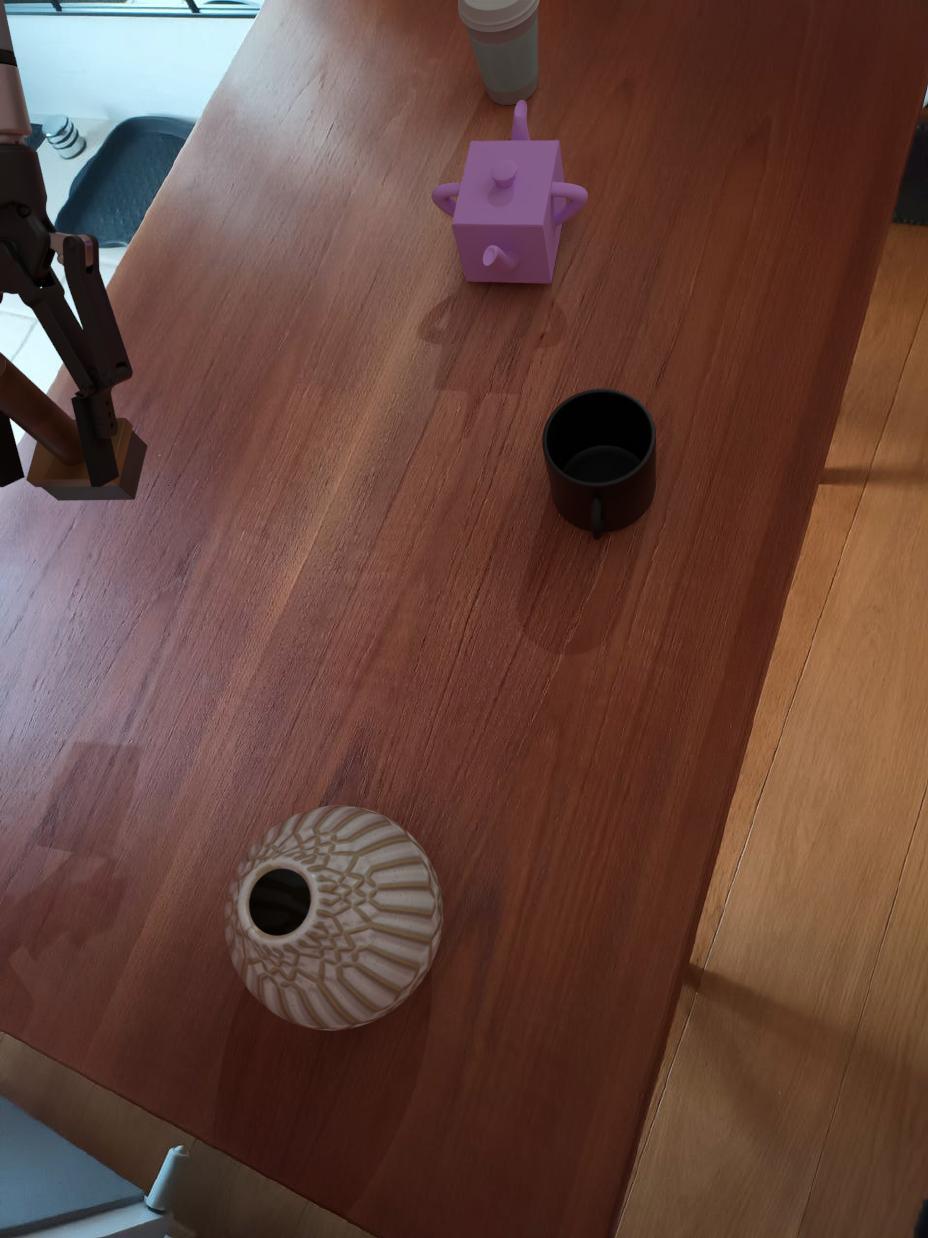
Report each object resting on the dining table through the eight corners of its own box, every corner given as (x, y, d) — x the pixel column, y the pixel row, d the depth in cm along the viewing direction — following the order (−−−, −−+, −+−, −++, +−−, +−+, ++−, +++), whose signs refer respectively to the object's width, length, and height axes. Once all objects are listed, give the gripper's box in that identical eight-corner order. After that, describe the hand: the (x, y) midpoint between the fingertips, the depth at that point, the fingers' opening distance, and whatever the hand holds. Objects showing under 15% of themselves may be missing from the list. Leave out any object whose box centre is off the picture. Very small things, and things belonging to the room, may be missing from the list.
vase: (499, 923, 76) (455, 904, 57) (353, 1072, 74) (258, 1103, 55) (371, 782, 82) (294, 725, 63) (232, 917, 80) (110, 898, 61)
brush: (55, 503, 78) (-73, 404, 64) (70, 445, 80) (-51, 337, 66) (136, 502, 76) (23, 400, 63) (150, 443, 78) (43, 332, 65)
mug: (546, 559, 86) (535, 514, 78) (555, 442, 90) (545, 388, 82) (652, 561, 84) (652, 515, 76) (657, 442, 88) (657, 386, 80)
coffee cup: (516, 46, 109) (500, -59, 98) (565, 81, 106) (555, -24, 95) (459, 90, 108) (437, -11, 97) (507, 126, 105) (491, 26, 94)
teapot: (614, 263, 96) (609, 179, 86) (501, 332, 96) (483, 256, 86) (534, 174, 102) (521, 86, 92) (428, 238, 102) (403, 157, 92)
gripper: (143, 134, 64) (202, 467, 73) (-117, 156, 68) (-28, 469, 77) (81, 130, 57) (155, 496, 67) (-202, 155, 61) (-94, 497, 71)
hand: (57, 481), depth 72 cm, fingers closed on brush, 7 cm apart
